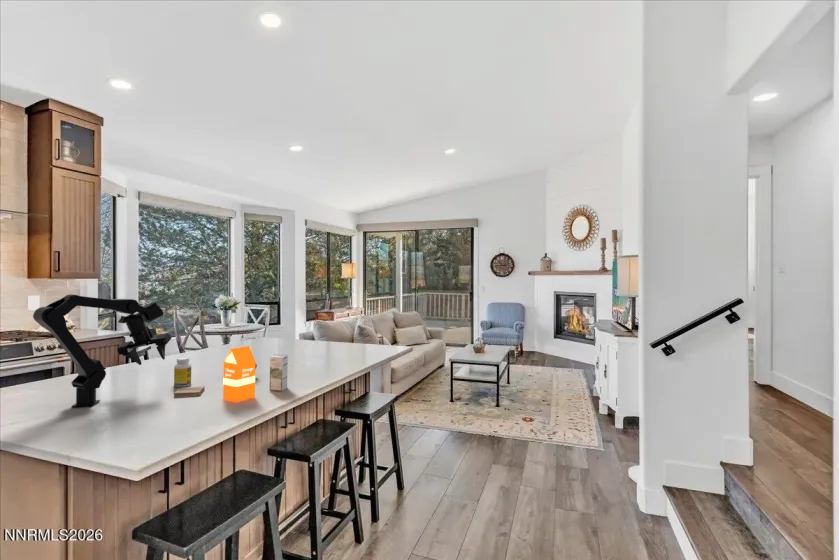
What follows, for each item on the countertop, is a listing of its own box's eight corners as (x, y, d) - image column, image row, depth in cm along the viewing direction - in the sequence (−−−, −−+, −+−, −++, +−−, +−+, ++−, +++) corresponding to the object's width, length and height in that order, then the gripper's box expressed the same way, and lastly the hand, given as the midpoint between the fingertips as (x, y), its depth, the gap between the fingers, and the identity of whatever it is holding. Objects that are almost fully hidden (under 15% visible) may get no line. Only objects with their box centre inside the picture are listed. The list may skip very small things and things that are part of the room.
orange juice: (222, 399, 166) (223, 347, 166) (241, 394, 174) (242, 344, 173) (236, 402, 162) (237, 349, 162) (255, 397, 170) (256, 346, 170)
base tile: (199, 395, 170) (199, 392, 170) (174, 397, 168) (174, 393, 168) (204, 389, 179) (204, 386, 179) (180, 391, 176) (180, 387, 176)
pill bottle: (185, 387, 182) (186, 360, 182) (170, 387, 182) (171, 359, 182) (194, 383, 188) (194, 357, 188) (179, 383, 188) (179, 356, 188)
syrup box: (287, 387, 185) (288, 354, 185) (282, 391, 179) (282, 356, 179) (275, 387, 185) (275, 353, 185) (268, 390, 179) (269, 356, 179)
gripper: (169, 314, 180) (182, 347, 185) (122, 325, 178) (137, 357, 183) (158, 326, 169) (173, 360, 175) (109, 337, 167) (125, 371, 173)
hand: (152, 361), depth 177 cm, fingers open, 9 cm apart
